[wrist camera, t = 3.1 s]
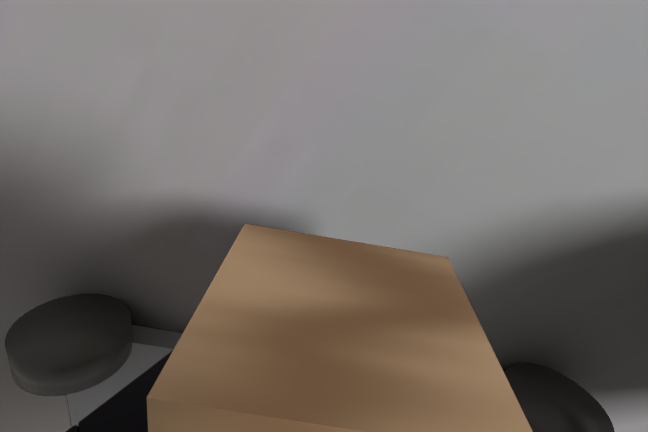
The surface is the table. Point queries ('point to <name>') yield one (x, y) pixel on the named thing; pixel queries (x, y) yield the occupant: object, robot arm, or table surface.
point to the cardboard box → (332, 345)
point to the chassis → (153, 344)
